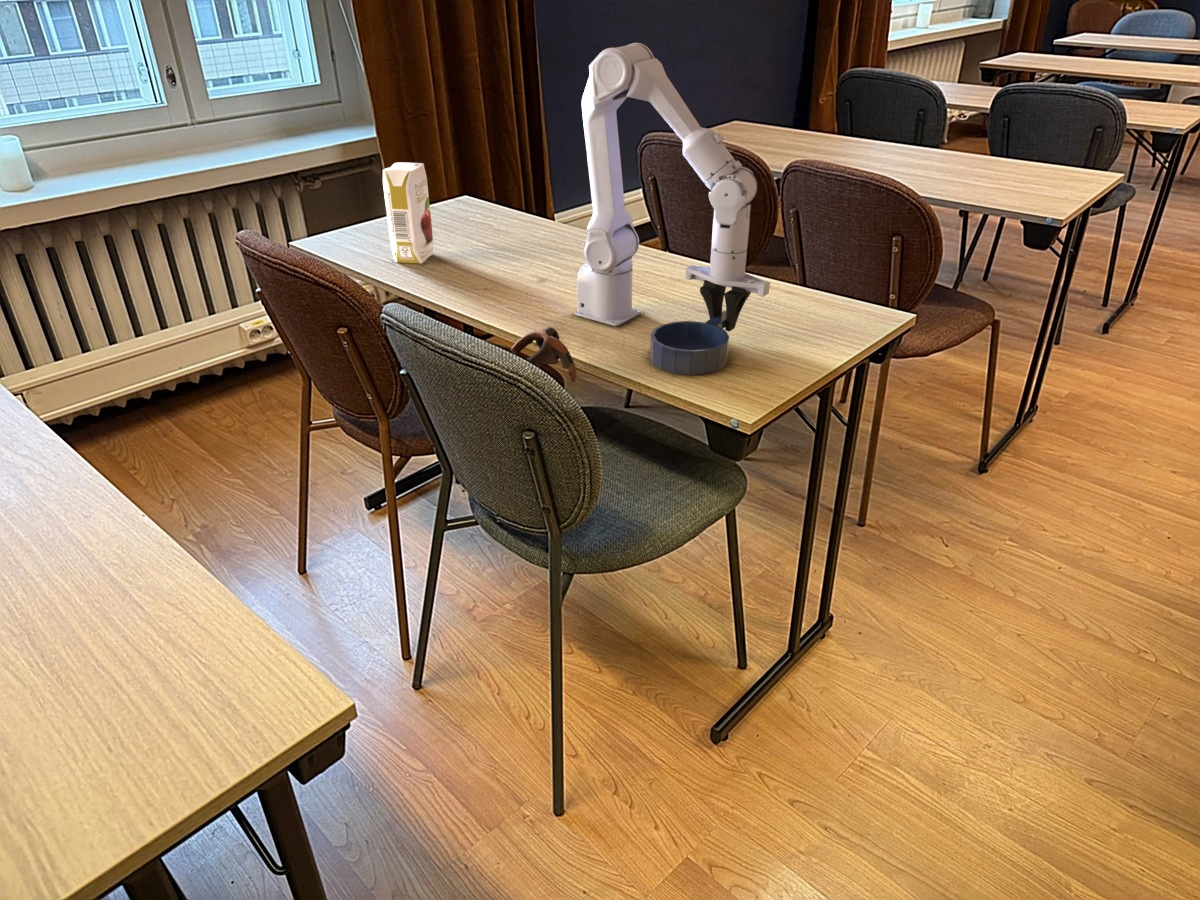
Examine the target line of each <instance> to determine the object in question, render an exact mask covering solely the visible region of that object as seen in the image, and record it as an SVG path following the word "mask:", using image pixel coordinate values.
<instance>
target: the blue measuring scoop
mask: <svg viewBox="0 0 1200 900" xmlns="http://www.w3.org/2000/svg"><path fill="white" fill-rule="evenodd" d="M725 322H726V310H722V312H721V313H720V314H718V315H716V316H715V317H713V318H711V319H710V318H709V319H707V321H695V320H679V321H671V322H667V323H663V324H660V325H658V326H656V327H655V328H653V329H652V332H651V334H650V337H649V340H650V341H649V342H650V343H649V345H650V346H649V360H650V361H651V364H652V365H653V366H654V367H656V368H658V369H659V370H661V371H664V372H668V373H671V374H675V375H683V376H699V375H707V374H711V373H715V372H718V371H720V370H721V369H723V368H724V367H725V366H727V362H728V356H729V346H730V345H729V343H730V334H728V331H726V329H725Z"/></svg>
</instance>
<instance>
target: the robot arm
mask: <svg viewBox="0 0 1200 900" xmlns="http://www.w3.org/2000/svg"><path fill="white" fill-rule="evenodd" d="M588 70H589V75H588V76H589V77H588V79H587V82H586V86H585V88H584V92H583V94H582V98H581V112H582V121H583V131H584V140H585V150H586V158H587V167H588V169H587V170H588V176H589V186H590V197H591V206H592V215H591V218H590V220H589V222H588V225H587V227H586V240H585V241H586V242H585V245H584V249H583V256H584V259H585V261H586V262H585V263H584V264H583V265H581V267H580V269H579V271H578V274H577V277H576V278H577V279H576V308H577V309H576V311H575V312H574V315H575V316H578V317H581V318H584V319H588V320H592V321H596V322H599V323H602V324H606V325H608V326H609V325H610V326H613V327H619V326H620V325H623V324H624V323H626V322H628V321H630V320H632V319H634V318H635V317H638V316H639V315H642V310H640V309H637V308H633V267H634V266H633V265H634V264H633V257H634V256H635V255H636V254H637V252H638V250H639V247H640V237H639V235H638V233H637V231H636V229H635V227H634V223H633V217H632V215H631V214H630V213H629V212H628V210H627V209H626V206H625V204H626V203H625V195H624V194H625V193H624V183H623V171H622V161H621V150H620V139H619V129H618V128H619V127H618V116H617V110H618V109H619V108H620V107H621V105H623V103H624V102H625V101H626V99H627V98H632V99H636V100H640V101H644V102H645V101H646V102H648V103H650V105H652V107H653V108H654V109H655V111H657V113H658V114H659V115H660V116H661V118H663V120H664V122H666V123H667V124H668V126H669V127H670V128H671V129H672V130H673V132H674V133H675V134H676V135H677V136H678V138H679V139H680V140H681V142H682V156H683V158H685V160H686V161H687V163H688V164H689V165H690V167H691V168H693V170H694V172H695V173H696V174H697V176H698V177H699V178H700V180H701V181H702V182H703V184H704V186H706V188H708V189H709V190H710V191H709V192H708V199H709V203H710V205H711V206H712V208H713V219H712V233H711V246H710V262H709V266H700V265H696V264H691V265H689V266H687V267H685V280H688V281H692V280H695V281H700V282H703V284H702V286H700V287H699V294H700V295H701V297H702V298H703V301H704V303H705V306H706V308H707V313H708V316H709V320H710V319H711V318H713V317H715V316H716V315H718V314H720V313H721V312H723V304H724V303H725V311H726V322H725V328H724V330H725V331H726V332H731V331H733V330H734V329H736V325H737V322H738V319H739V316H740V313H741V311H742V309H743V307H744V306H745V303H746V302H747V300H748V299H749V297H750V295H751V294H752V293H753V294H756V295H757V296H759V297H763V298H764V297H765V296H767V295H768V294H770V287H771V281H768V280H764V279H761V278H758V277H756V276H754V275H751V274H748V273H746V268H747V267H746V265H747V256H748V245H749V234H750V233H749V232H750V221H751V219H750V216H751V207H752V205H751V202H752V200H753V199H754V198H755V196H756V195H757V191H758V182H757V179H756V177H755V175H754V172H753V171H752V170H751V169H750V168H748V167H745V166H743V165H742V163H741V161H739V160H736V159H735V158H734V157H733V155H732V154H731V153H730V151H729V150H728V149H727V147H726V146H725V145H724V143H723V141H724V140H725V138H724V137H723V135H722V134H721V133H720V132H717V133H716V132H715V131H714V129H712V128H707V127H702V126H700V124H699V122H698V121H697V119H696V118H695V116H694V115H693V114H692V112H691V110H690V109H689V107H688V106H687V104H686V103H685V102H684V99H683V98H682V97H681V95H680V93H679V92H678V90H677V89H676V88H675V86H674V85H673V83H672V82H671V80H670V79H669V77H668V75H667V73H666V71H665V68H664V66H663V64H662V62H661V61H659V59H658V58H656V57H655V56H654V54H653V52H652V51H651V49H650V48H649V47H648V46H647V45H646V44H643V43H641V42H632V43H629V44H627V45H623V46H618V47H607V48H605V49H603V50H601V52H599V54H598V55H597V56H596V57H595V58H594V60H592V61H591V62H590V64H589V65H588ZM727 288H730V290H727ZM726 290H727V291H726ZM724 301H725V302H724Z"/></svg>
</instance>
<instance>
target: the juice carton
mask: <svg viewBox="0 0 1200 900" xmlns="http://www.w3.org/2000/svg"><path fill="white" fill-rule="evenodd" d="M425 168H426V167H425V163H423V162H407V161H405V162H404V161H403V162H401V161H399V162H394V163H393V164H392V165H391V166H390V167H386V168H384V169H382V187H383V194H384V195H383V196H384V203H385V210H386V219H387V226H388V234H389V242H390V248H391V253H392V256H393V260H394V262H395V263H404V264H424V263H425V261H426V260H427V259H429V258H430V257H431V256H432V255H433V253H434V235H433V223H432V214H431V213H432V212H431V205H430V197H429V195H430V194H429V187H428V186H429V185H428V178H427V173H426V169H425Z"/></svg>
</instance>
